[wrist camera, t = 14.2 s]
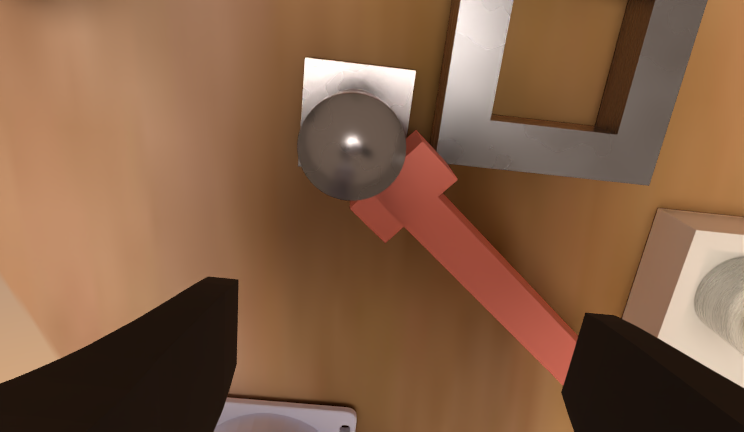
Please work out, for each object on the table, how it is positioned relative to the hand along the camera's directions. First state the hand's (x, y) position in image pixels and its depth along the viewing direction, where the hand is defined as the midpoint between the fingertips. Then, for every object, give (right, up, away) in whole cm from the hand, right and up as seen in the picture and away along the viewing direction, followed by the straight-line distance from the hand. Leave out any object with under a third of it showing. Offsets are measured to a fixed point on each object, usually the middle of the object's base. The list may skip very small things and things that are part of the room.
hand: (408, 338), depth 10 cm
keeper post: (-1, +6, +9) cm, 11 cm away
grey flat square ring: (+6, +8, +8) cm, 13 cm away
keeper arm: (+4, 0, +8) cm, 9 cm away
